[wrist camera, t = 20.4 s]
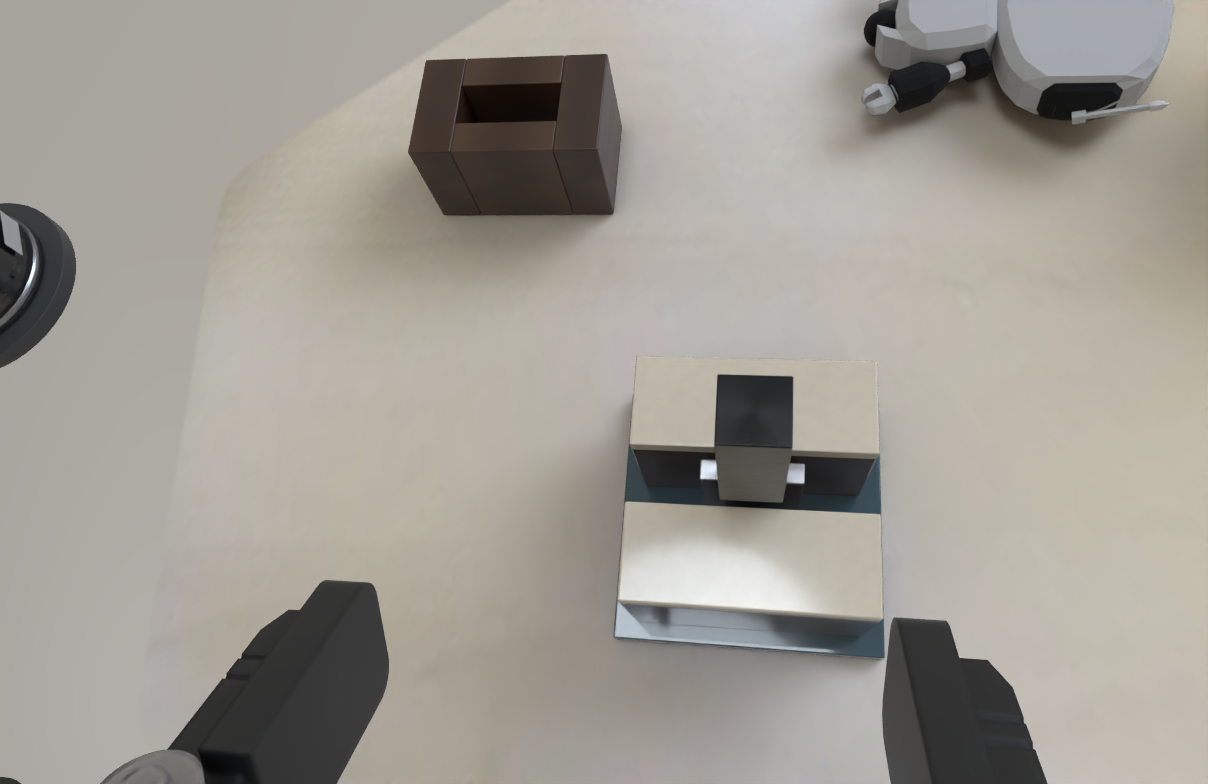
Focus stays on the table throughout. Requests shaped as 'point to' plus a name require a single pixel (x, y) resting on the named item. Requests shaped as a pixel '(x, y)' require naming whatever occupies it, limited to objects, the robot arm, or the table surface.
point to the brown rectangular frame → (518, 135)
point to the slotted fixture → (753, 518)
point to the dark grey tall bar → (753, 445)
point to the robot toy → (1022, 52)
